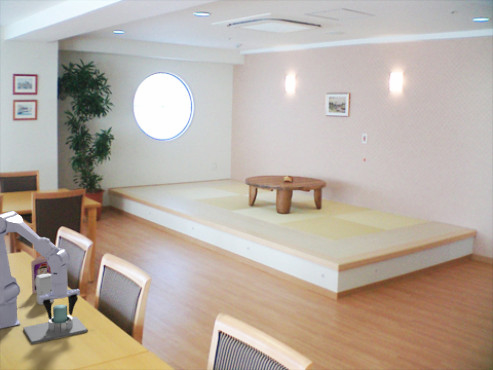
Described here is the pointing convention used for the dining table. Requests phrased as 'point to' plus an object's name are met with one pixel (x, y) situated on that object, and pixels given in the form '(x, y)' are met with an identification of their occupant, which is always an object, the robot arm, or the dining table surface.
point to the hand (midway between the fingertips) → (60, 316)
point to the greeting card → (38, 270)
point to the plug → (60, 313)
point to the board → (44, 334)
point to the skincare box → (43, 285)
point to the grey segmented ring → (60, 325)
